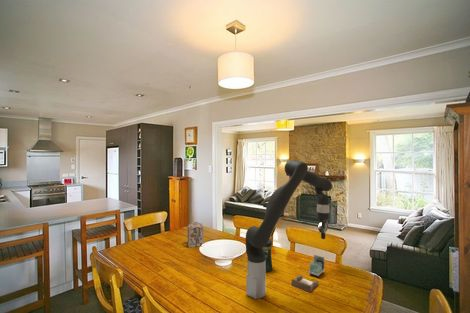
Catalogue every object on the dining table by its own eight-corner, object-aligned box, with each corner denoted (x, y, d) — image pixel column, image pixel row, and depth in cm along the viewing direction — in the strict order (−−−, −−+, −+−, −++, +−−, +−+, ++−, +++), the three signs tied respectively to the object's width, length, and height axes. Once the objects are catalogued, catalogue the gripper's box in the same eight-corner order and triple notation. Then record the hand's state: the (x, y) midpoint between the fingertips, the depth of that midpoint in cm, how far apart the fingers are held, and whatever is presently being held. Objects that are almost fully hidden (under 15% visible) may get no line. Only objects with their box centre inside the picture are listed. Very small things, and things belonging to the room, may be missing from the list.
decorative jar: (187, 242, 191) (187, 220, 191) (201, 241, 194) (201, 219, 195) (188, 248, 179) (188, 224, 180) (203, 246, 183) (203, 223, 183)
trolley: (318, 278, 134) (318, 262, 134) (308, 274, 138) (308, 259, 138) (324, 272, 140) (324, 257, 140) (314, 269, 144) (314, 254, 144)
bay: (310, 292, 120) (310, 286, 120) (291, 285, 126) (291, 279, 126) (318, 284, 128) (318, 278, 128) (300, 277, 134) (300, 272, 134)
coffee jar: (273, 267, 148) (273, 237, 148) (271, 272, 140) (271, 241, 141) (258, 265, 151) (258, 236, 151) (255, 270, 143) (255, 240, 143)
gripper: (325, 213, 140) (325, 242, 140) (332, 210, 150) (332, 237, 150) (313, 212, 145) (313, 240, 145) (321, 208, 155) (321, 234, 155)
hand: (323, 238), depth 147 cm, fingers closed
